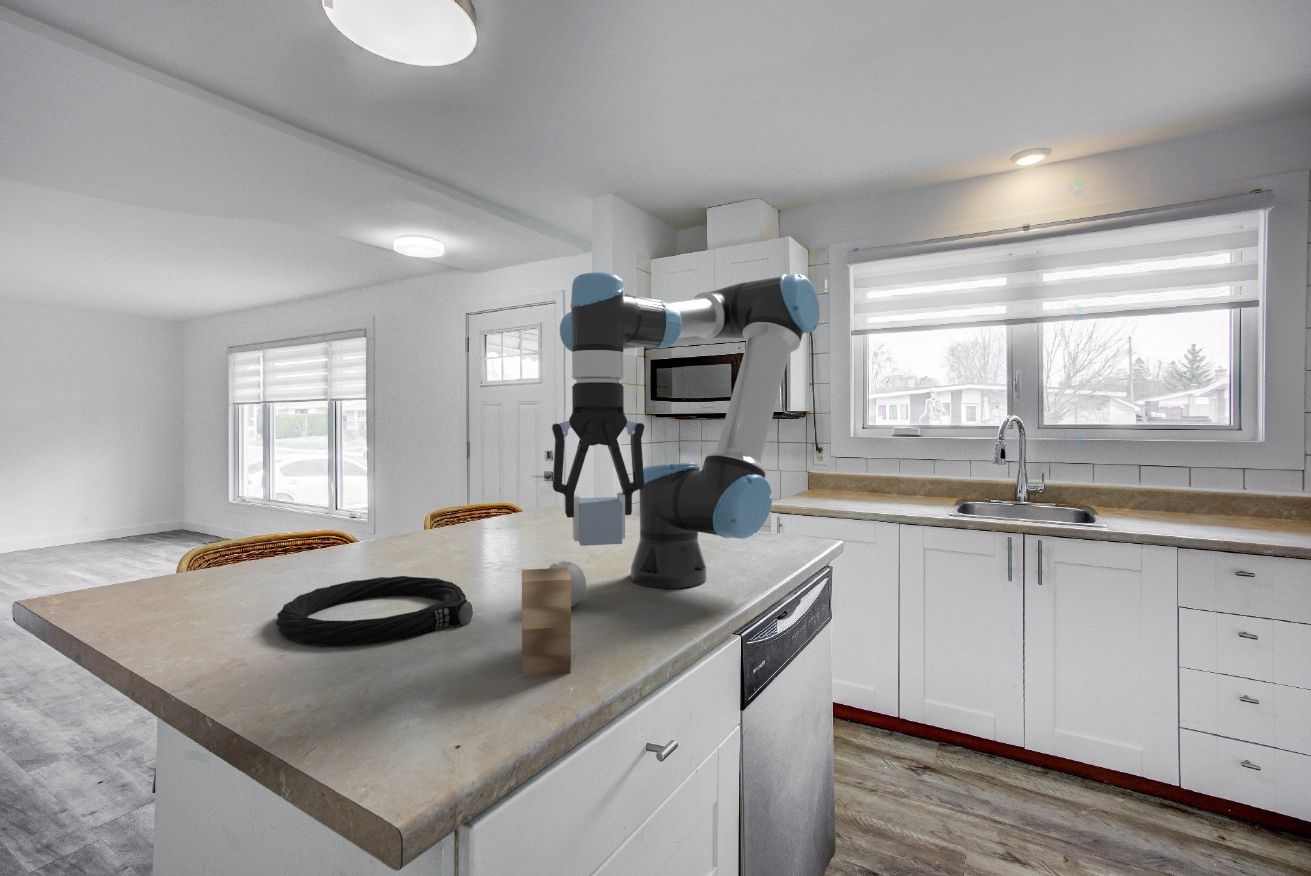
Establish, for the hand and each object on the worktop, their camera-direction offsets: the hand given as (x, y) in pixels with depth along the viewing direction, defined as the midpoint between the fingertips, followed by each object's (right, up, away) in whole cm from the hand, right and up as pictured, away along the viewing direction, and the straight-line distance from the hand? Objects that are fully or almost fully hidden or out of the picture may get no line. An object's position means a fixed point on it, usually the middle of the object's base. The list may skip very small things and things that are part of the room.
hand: (598, 537), depth 90 cm
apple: (-7, -14, +13) cm, 21 cm away
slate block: (0, 0, 0) cm, 0 cm away
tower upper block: (-6, -9, -11) cm, 16 cm away
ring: (-35, -14, +7) cm, 39 cm away
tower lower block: (-6, -15, -11) cm, 20 cm away
